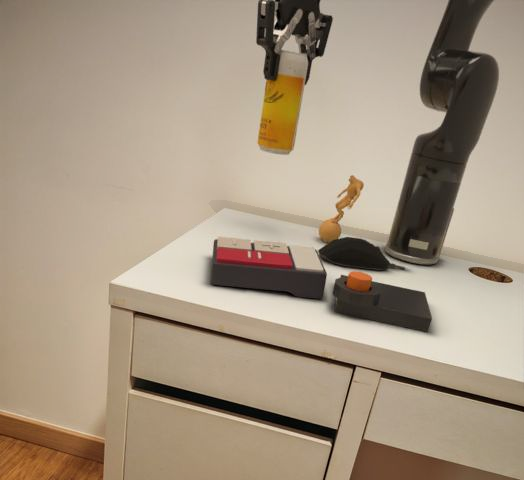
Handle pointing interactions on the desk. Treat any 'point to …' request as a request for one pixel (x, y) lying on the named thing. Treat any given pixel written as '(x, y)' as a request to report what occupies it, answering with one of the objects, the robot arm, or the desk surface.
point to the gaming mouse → (355, 254)
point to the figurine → (340, 211)
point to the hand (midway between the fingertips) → (285, 81)
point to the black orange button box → (384, 304)
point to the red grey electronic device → (268, 266)
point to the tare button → (359, 281)
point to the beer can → (283, 104)
